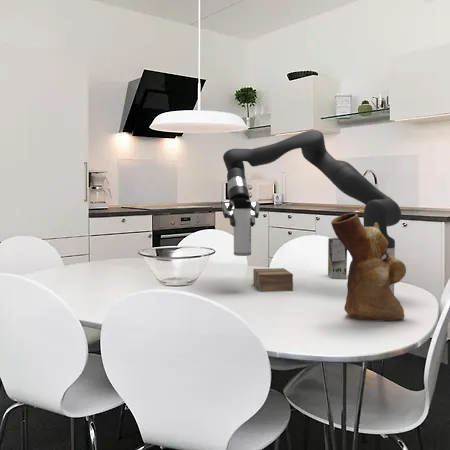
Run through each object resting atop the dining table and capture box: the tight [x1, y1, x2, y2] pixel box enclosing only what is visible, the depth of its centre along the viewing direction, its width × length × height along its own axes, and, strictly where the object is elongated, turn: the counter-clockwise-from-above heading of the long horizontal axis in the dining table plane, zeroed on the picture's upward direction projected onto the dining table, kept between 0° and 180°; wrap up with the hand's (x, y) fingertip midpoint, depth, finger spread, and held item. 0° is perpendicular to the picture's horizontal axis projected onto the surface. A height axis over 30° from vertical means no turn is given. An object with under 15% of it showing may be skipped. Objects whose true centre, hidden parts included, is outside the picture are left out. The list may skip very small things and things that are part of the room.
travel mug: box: [233, 199, 252, 257], centre depth 185 cm, size 6×7×20 cm
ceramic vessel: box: [330, 212, 407, 322], centre depth 147 cm, size 16×22×30 cm
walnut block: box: [252, 267, 294, 292], centre depth 194 cm, size 14×12×6 cm
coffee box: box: [327, 237, 348, 279], centre depth 217 cm, size 9×6×16 cm
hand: (243, 225), depth 183 cm, fingers closed on travel mug, 6 cm apart
